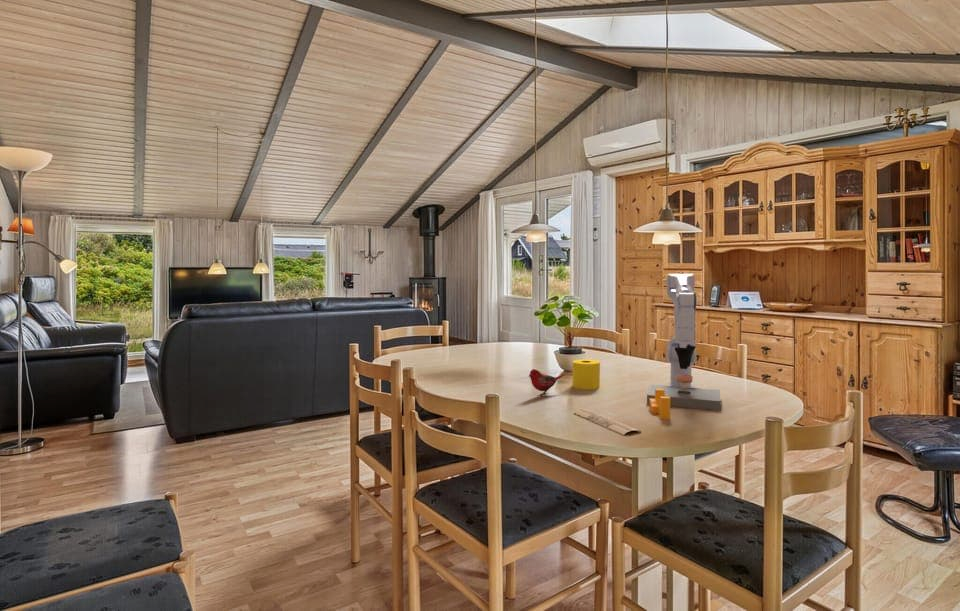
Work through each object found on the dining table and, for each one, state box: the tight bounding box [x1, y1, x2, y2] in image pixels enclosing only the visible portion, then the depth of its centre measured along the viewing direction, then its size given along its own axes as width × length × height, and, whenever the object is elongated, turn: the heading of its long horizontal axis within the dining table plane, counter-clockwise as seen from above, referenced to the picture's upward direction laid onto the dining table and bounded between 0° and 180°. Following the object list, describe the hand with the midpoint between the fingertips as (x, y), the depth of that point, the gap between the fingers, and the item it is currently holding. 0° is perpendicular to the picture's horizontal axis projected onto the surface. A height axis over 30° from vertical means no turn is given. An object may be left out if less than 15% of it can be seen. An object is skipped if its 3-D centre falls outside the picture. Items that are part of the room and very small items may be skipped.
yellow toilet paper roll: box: [572, 358, 601, 390], centre depth 201 cm, size 10×10×9 cm
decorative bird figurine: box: [528, 368, 565, 397], centre depth 189 cm, size 3×18×10 cm, turn 127°
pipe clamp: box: [648, 389, 671, 420], centre depth 164 cm, size 12×4×6 cm, turn 170°
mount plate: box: [646, 384, 721, 411], centre depth 178 cm, size 16×22×3 cm
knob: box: [676, 374, 693, 390], centre depth 178 cm, size 5×5×5 cm
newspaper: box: [573, 408, 642, 436], centre depth 155 cm, size 24×7×2 cm, turn 25°
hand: (685, 367), depth 182 cm, fingers open, 7 cm apart
